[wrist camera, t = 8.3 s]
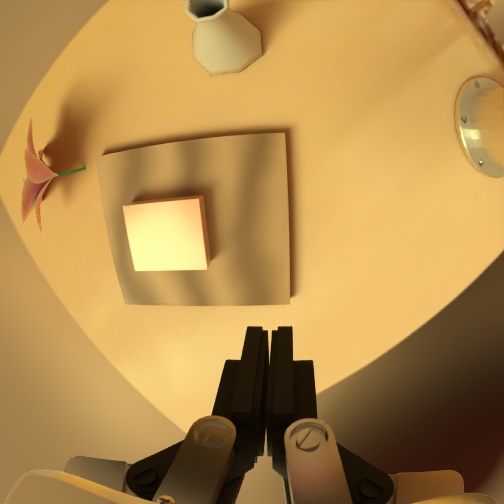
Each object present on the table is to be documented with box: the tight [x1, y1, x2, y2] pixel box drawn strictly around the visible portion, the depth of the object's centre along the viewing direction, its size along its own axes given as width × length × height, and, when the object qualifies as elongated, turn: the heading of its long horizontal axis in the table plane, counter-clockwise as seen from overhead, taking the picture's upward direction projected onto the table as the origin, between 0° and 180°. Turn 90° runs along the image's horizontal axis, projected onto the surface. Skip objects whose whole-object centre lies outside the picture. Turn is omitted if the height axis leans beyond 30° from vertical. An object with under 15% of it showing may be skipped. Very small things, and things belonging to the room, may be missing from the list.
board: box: [96, 133, 290, 306], centre depth 30 cm, size 20×18×1 cm
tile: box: [123, 195, 211, 271], centre depth 28 cm, size 2×7×8 cm
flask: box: [185, 0, 262, 75], centre depth 18 cm, size 7×7×10 cm
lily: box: [22, 118, 85, 232], centre depth 25 cm, size 12×12×10 cm
